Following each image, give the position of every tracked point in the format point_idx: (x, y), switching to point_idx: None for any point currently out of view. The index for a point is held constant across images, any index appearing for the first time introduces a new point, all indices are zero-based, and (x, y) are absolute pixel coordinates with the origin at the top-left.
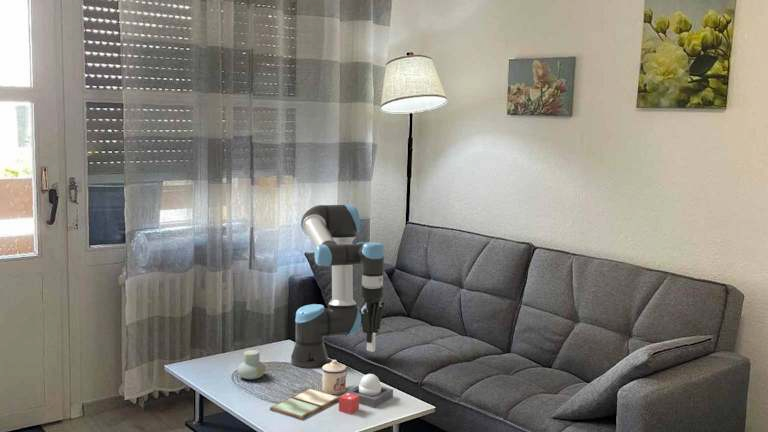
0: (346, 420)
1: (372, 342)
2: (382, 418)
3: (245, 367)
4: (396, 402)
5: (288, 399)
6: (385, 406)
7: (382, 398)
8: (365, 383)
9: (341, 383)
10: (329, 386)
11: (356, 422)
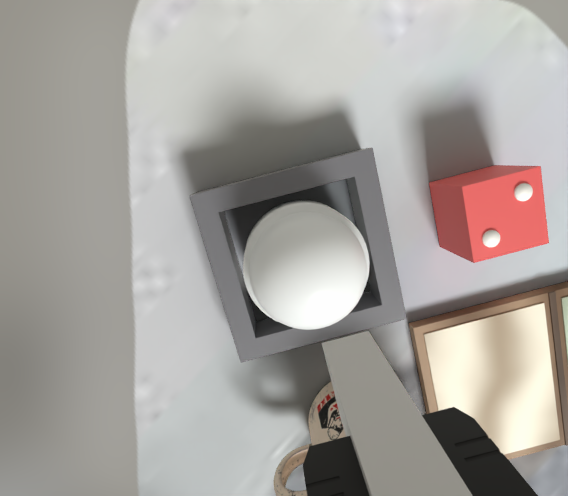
0: (555, 123)
1: (411, 404)
2: (421, 23)
3: None
4: (227, 130)
5: None
6: (305, 128)
7: (294, 167)
8: (364, 258)
9: None
10: None
11: (541, 74)
